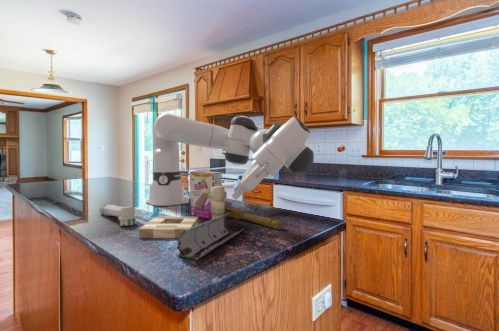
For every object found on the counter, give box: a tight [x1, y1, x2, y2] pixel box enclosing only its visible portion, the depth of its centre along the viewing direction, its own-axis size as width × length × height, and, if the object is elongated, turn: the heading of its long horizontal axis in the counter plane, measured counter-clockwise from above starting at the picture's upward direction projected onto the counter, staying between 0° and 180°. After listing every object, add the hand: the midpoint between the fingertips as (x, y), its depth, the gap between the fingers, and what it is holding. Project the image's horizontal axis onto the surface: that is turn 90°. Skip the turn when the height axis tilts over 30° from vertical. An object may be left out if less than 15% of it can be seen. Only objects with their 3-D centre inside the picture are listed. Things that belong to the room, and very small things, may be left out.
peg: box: [211, 186, 226, 219], centre depth 94 cm, size 4×4×13 cm
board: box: [138, 216, 199, 239], centre depth 93 cm, size 15×14×2 cm
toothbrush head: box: [99, 203, 137, 227], centre depth 107 cm, size 5×7×25 cm
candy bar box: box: [189, 170, 223, 220], centre depth 110 cm, size 11×5×16 cm, turn 57°
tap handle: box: [223, 206, 284, 231], centre depth 106 cm, size 3×3×30 cm
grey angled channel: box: [177, 212, 245, 261], centre depth 81 cm, size 7×7×25 cm
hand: (234, 194), depth 93 cm, fingers open, 8 cm apart
